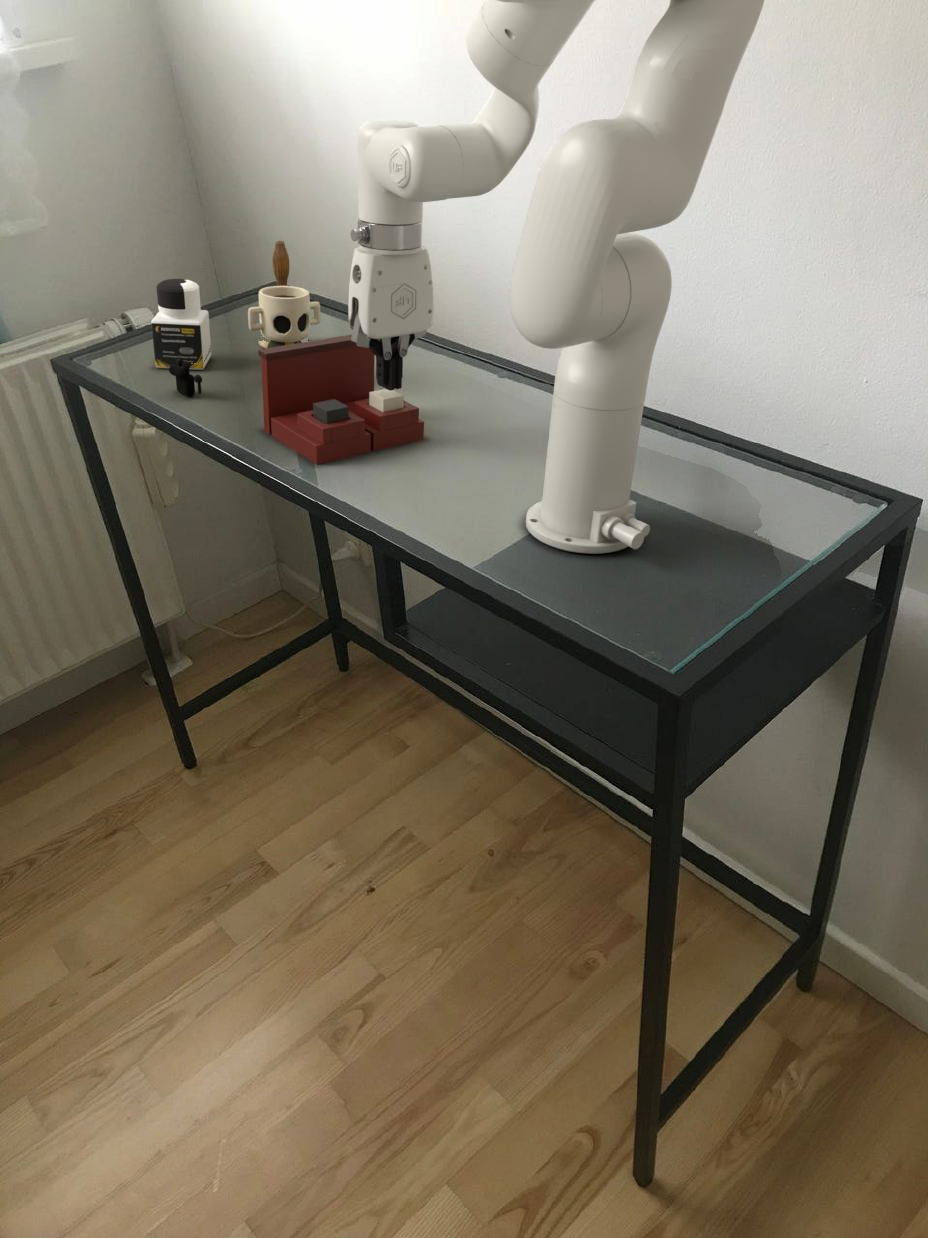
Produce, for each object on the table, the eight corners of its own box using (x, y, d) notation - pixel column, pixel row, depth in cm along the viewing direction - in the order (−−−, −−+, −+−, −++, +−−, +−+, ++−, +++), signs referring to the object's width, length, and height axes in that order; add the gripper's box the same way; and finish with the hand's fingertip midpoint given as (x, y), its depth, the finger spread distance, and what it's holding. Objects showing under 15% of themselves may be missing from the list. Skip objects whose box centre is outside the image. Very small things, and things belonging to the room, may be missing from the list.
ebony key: (348, 421, 130) (348, 406, 129) (327, 426, 128) (326, 411, 127) (334, 413, 132) (334, 398, 131) (313, 418, 130) (312, 403, 129)
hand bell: (300, 354, 164) (297, 249, 156) (250, 348, 166) (245, 243, 157) (317, 339, 171) (315, 238, 163) (269, 333, 173) (265, 233, 164)
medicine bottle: (155, 368, 155) (146, 286, 148) (165, 353, 161) (157, 274, 154) (203, 370, 155) (197, 288, 149) (211, 356, 161) (206, 276, 155)
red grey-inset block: (371, 452, 132) (371, 418, 130) (317, 465, 128) (316, 430, 125) (324, 424, 139) (323, 392, 137) (271, 436, 135) (270, 402, 133)
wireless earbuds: (206, 400, 145) (203, 364, 142) (191, 404, 143) (188, 368, 140) (175, 387, 148) (172, 352, 146) (160, 390, 147) (157, 355, 144)
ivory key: (403, 409, 134) (404, 395, 133) (383, 414, 133) (383, 399, 132) (389, 402, 136) (389, 387, 135) (369, 406, 135) (369, 391, 134)
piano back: (376, 412, 144) (377, 335, 139) (269, 435, 135) (265, 353, 129) (368, 408, 146) (369, 331, 140) (261, 430, 136) (257, 349, 131)
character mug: (260, 393, 148) (256, 301, 141) (242, 378, 153) (238, 288, 146) (331, 384, 153) (330, 294, 146) (311, 369, 158) (309, 282, 152)
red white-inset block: (424, 439, 137) (425, 406, 135) (373, 451, 132) (374, 417, 130) (376, 413, 144) (376, 381, 142) (326, 424, 140) (326, 391, 137)
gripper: (355, 247, 117) (356, 405, 126) (459, 236, 125) (453, 385, 134) (319, 235, 122) (323, 388, 131) (421, 225, 130) (418, 369, 139)
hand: (389, 386), depth 133 cm, fingers closed
